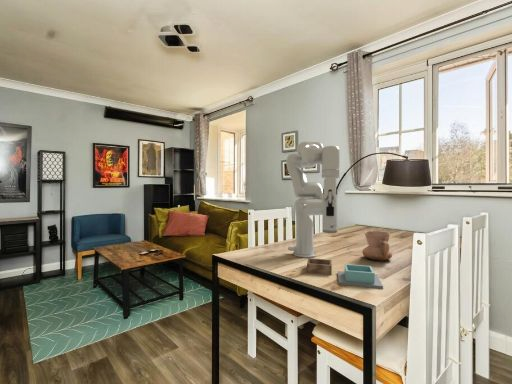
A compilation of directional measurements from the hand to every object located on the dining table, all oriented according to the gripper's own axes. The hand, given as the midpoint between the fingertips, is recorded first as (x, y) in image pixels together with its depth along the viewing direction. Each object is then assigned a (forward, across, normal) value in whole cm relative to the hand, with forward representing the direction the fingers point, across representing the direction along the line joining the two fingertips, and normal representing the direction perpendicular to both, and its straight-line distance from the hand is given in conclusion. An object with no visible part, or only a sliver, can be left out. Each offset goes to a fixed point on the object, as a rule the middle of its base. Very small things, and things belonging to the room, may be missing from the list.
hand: (330, 214), depth 120 cm
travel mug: (+8, 0, 0) cm, 8 cm away
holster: (+26, -3, -5) cm, 27 cm away
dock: (+26, +6, +12) cm, 29 cm away
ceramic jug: (+26, -32, +24) cm, 47 cm away
